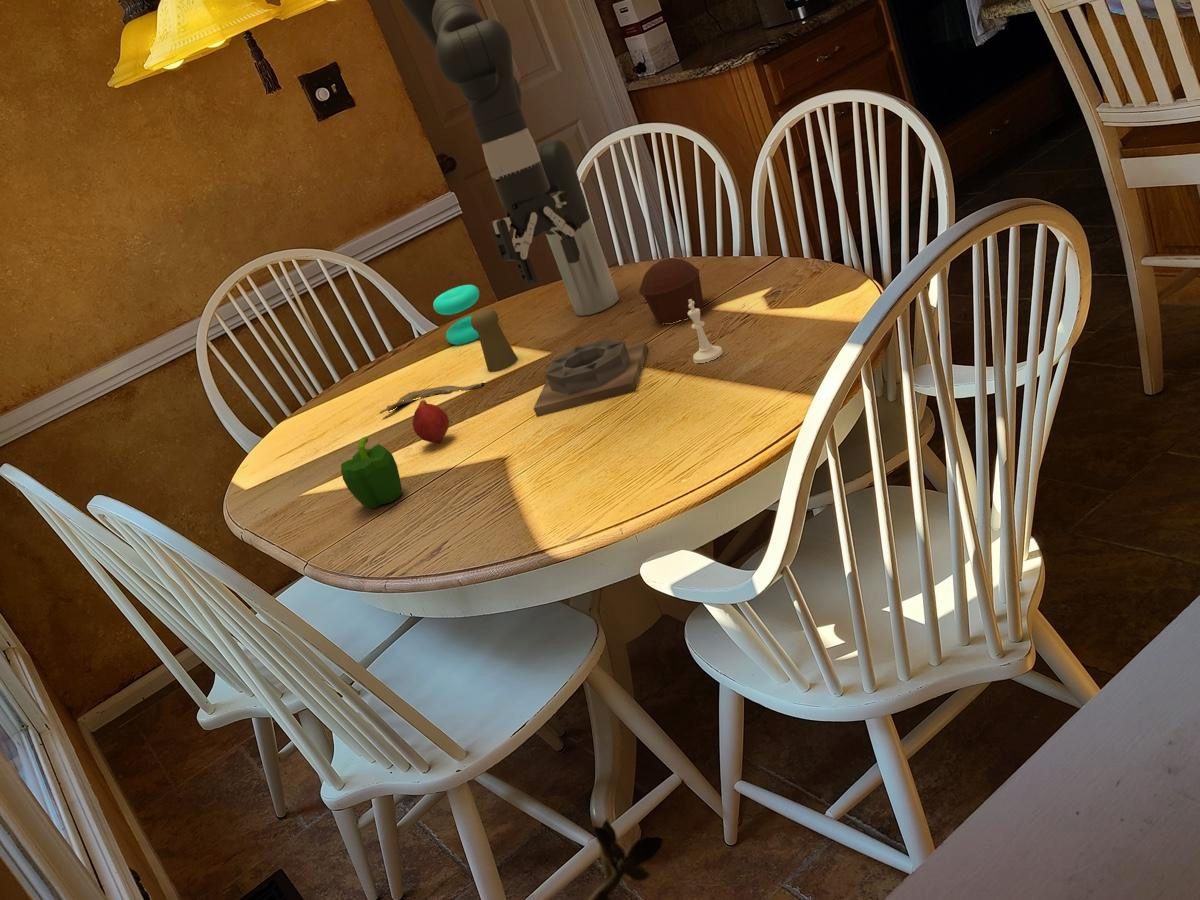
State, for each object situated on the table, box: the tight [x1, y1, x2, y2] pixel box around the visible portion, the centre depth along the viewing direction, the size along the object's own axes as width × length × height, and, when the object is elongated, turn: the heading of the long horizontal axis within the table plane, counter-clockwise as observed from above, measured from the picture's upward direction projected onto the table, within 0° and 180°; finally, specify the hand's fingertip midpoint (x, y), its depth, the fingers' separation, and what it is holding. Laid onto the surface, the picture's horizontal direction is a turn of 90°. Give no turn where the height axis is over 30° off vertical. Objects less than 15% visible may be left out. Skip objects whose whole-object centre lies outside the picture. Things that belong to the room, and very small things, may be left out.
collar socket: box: [533, 338, 649, 417], centre depth 184 cm, size 17×17×4 cm
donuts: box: [432, 284, 480, 346], centre depth 231 cm, size 10×10×10 cm
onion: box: [412, 398, 450, 444], centre depth 183 cm, size 6×6×8 cm
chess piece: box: [688, 299, 724, 364], centre depth 175 cm, size 5×5×10 cm
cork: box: [471, 308, 519, 373], centre depth 207 cm, size 6×6×11 cm
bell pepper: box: [340, 436, 403, 509], centre depth 169 cm, size 8×8×10 cm
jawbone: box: [379, 382, 486, 415], centre depth 207 cm, size 9×20×2 cm, turn 89°
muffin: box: [638, 257, 705, 325], centre depth 198 cm, size 12×11×10 cm
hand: (553, 272), depth 166 cm, fingers open, 8 cm apart
